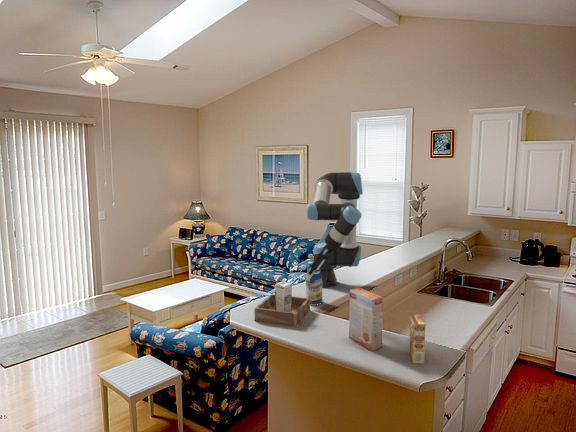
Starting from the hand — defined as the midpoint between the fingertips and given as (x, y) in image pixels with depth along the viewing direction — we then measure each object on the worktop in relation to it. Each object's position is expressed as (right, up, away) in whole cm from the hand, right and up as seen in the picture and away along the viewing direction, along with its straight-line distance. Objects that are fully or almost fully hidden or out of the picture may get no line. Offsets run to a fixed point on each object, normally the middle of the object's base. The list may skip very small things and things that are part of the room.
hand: (311, 273), depth 193 cm
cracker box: (+20, -25, -23) cm, 40 cm away
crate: (-13, -20, +5) cm, 24 cm away
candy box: (+37, -27, -36) cm, 58 cm away
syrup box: (-13, -20, +5) cm, 24 cm away
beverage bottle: (+3, -18, +20) cm, 27 cm away
